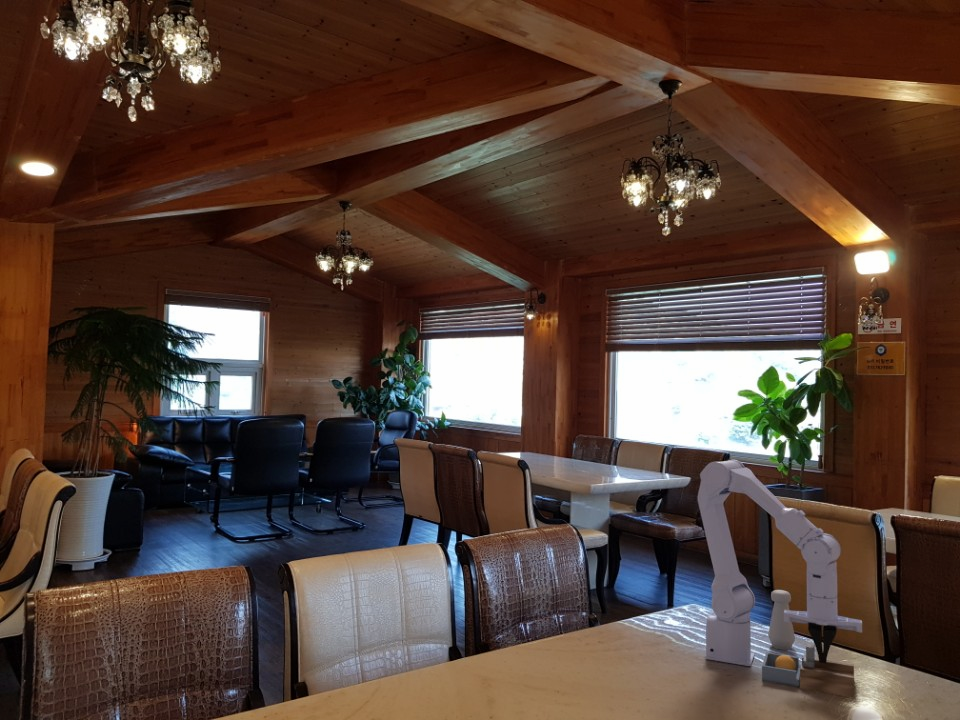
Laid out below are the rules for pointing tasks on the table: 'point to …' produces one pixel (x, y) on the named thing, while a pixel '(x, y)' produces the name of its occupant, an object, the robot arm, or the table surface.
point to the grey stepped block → (809, 656)
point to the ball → (785, 662)
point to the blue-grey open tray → (780, 671)
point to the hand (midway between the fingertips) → (822, 661)
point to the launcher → (829, 678)
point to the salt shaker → (781, 622)
